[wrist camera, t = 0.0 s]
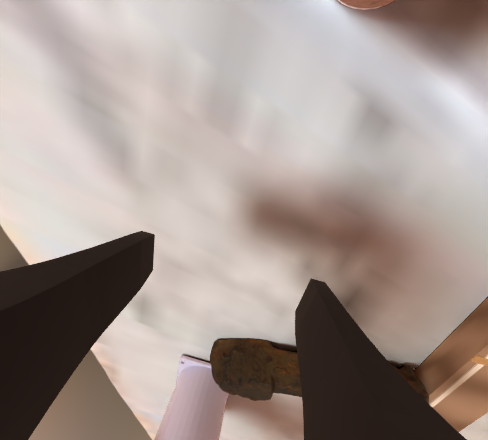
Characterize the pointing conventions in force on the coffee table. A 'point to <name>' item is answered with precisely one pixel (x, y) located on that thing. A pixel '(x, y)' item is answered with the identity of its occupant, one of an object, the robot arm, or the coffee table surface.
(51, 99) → the coffee table surface
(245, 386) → the hand tool
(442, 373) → the light brown wooden board
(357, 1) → the coffee cup
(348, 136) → the coffee table surface
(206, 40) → the coffee table surface
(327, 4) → the coffee table surface
